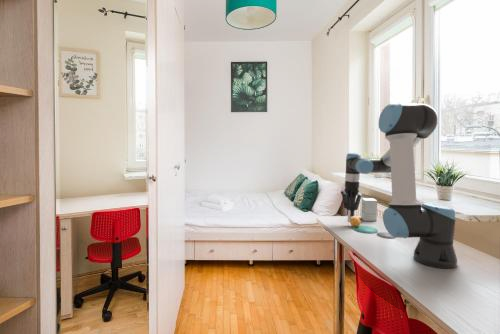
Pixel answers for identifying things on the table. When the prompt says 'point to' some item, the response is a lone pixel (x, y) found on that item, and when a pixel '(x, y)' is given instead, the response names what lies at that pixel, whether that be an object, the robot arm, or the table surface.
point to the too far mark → (385, 235)
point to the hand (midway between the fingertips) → (350, 221)
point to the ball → (355, 221)
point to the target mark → (365, 229)
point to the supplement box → (369, 209)
